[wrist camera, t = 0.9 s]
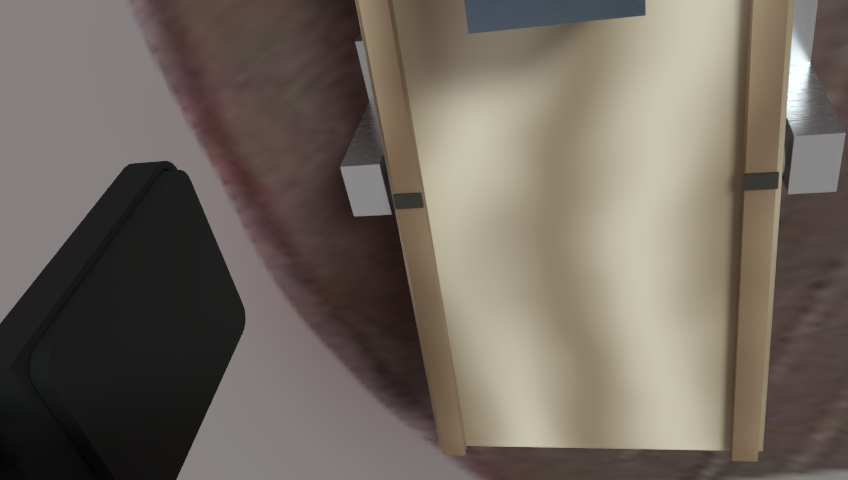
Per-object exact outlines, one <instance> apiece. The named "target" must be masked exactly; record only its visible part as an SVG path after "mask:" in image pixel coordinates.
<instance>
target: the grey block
mask: <svg viewBox="0 0 848 480" xmlns="http://www.w3.org/2000/svg"><path fill="white" fill-rule="evenodd" d="M464 3H465V11H466V19H467V27H468V34H472V33H481V32H491V31H501V30H510V29H520V28H529V27H539V26H548V25H558V24H568V23H577V22H587V21H596V20H606V19H616V18H625V17H635V16H644V15H646V6H645V0H464Z"/></svg>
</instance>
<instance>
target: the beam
mask: <svg viewBox="0 0 848 480" xmlns="http://www.w3.org/2000/svg"><path fill="white" fill-rule="evenodd" d="M355 3H356V9H357V14H358V19H359V25H360V30H361V35H362V40H363V46H364V51H365V56H366V61H367V67H368V72H369V77H370V82H371V88H372V93H373V98H374V104H375V109H376V114H377V119H378V125H379V130H380V135H381V140H382V146H383V151H384V156H385V161H386V167H387V172H388V177H389V183H390V189H391V193H392V198H393V204H394V209H395V214H396V219H397V225H398V230H399V235H400V240H401V246H402V251H403V256H404V262H405V267H406V272H407V277H408V283H409V288H410V293H411V298H412V304H413V309H414V314H415V319H416V325H417V330H418V335H419V341H420V346H421V351H422V356H423V362H424V367H425V372H426V377H427V383H428V388H429V393H430V398H431V404H432V409H433V414H434V420H435V425H436V430H437V435H438V441H439V445H442V449H443V454H444V455H465V454H466V448H467V446H507V447H562V448H616V449H670V450H725V451H730V453H731V458H732V461H758V451H763V440H764V425H765V411H766V397H767V383H768V369H769V354H770V340H771V326H772V312H773V298H774V283H775V269H776V255H777V241H778V226H779V212H780V198H781V184H782V174H783V172H784V168H785V149H784V141H785V127H786V113H787V99H788V84H789V70H790V56H791V42H792V27H793V13H794V0H645V6H646V15H644V16H635V17H625V18H616V19H606V20H596V21H587V22H577V23H568V24H558V25H548V26H539V27H529V28H520V29H510V30H501V31H491V32H481V33H472V34H468V27H467V19H466V11H465V3H464V0H355Z"/></svg>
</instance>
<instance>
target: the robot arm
mask: <svg viewBox="0 0 848 480" xmlns="http://www.w3.org/2000/svg"><path fill="white" fill-rule="evenodd" d="M244 326H245V310H244V307H243V304H242V301H241V299H240V296H239V294H238V292H237V289H236V287H235V285H234V282H233V280H232V277H231V275H230V273H229V270H228V268H227V266H226V263H225V261H224V259H223V256H222V254H221V251H220V249H219V247H218V244H217V242H216V239H215V237H214V235H213V232H212V230H211V228H210V225H209V223H208V220H207V218H206V216H205V213H204V211H203V209H202V206H201V204H200V202H199V199H198V197H197V194H196V192H195V190H194V187H193V185H192V182H191V180H190V178H189V176H188V175H187V174H186V173H185V172H184V171H182V170H177V168H176V167H175V166H174V165H173V164H172V163H170V162H168V161H160V162H147V163H134V164H129V165H128V166H126V167H125V168H124V169H123V170H122V172H121V173H120V174H119V175H118V177H117V178H116V179H115V180H114V182H113V183H112V184H111V185H110V187H109V188H108V189H107V190H106V192H105V193H104V194H103V195H102V197H101V198H100V199H99V201H98V202H97V203H96V204H95V206H94V207H93V208H92V209H91V211H90V212H89V213H88V214H87V216H86V217H85V218H84V219H83V221H82V222H81V223H80V224H79V226H78V227H77V228H76V229H75V231H74V232H73V233H72V234H71V236H70V237H69V238H68V240H67V241H66V242H65V243H64V244H63V246H62V247H61V248H60V249H59V251H58V252H57V254H56V255H55V256H54V257H53V258H52V260H51V261H50V262H49V263H48V265H47V266H46V267H45V268H44V270H43V271H42V272H41V273H40V275H39V276H38V277H37V278H36V280H35V281H34V282H33V283H32V285H31V286H30V287H29V289H28V290H27V291H26V292H25V293H24V295H23V296H22V297H21V298H20V300H19V301H18V302H17V304H16V305H15V306H14V307H13V309H12V310H11V311H10V312H9V314H8V315H7V316H6V317H5V319H4V320H3V321H2V322H1V324H0V480H176V478H177V477H178V474H179V472H180V470H181V468H182V466H183V463H184V461H185V459H186V457H187V455H188V452H189V450H190V448H191V446H192V443H193V441H194V439H195V437H196V435H197V433H198V430H199V428H200V426H201V424H202V421H203V419H204V417H205V415H206V412H207V410H208V408H209V406H210V404H211V402H212V399H213V397H214V395H215V393H216V390H217V388H218V386H219V384H220V382H221V379H222V377H223V375H224V373H225V370H226V368H227V366H228V364H229V362H230V360H231V357H232V355H233V353H234V351H235V348H236V346H237V344H238V342H239V340H240V337H241V335H242V333H243V330H244Z"/></svg>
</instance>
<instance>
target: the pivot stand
mask: <svg viewBox="0 0 848 480" xmlns="http://www.w3.org/2000/svg"><path fill="white" fill-rule="evenodd" d="M817 4H818V0H794V13H793V27H792V42H791V56H790V70H789V84H788V99H787V113H786V127H785V141H784V149H785V168H784V172H783V174H782V179H783V182H784V185H785V188H786V191H787V194H799V193H819V192H836V190H837V184H838V178H839V171H840V165H841V159H842V153H843V146H844V140H845V134H846V132H845V130H844V128H843V126H842V125H841V123H840V121H839V119H838V117H837V115H836V113H835V111H834V109H833V107H832V105H831V103H830V101H829V99H828V97H827V95H826V93H825V91H824V89H823V87H822V85H821V83H820V81H819V79H818V77H817V75H816V73H815V71H814V69H813V67H812V65H811V63H810V61H811V53H812V45H813V37H814V29H815V20H816V12H817ZM355 44H356V48H357V52H358V56H359V60H360V64H361V69H362V73H363V77H364V81H365V85H366V89H367V93H368V98H369V103H368V105H367V107H366V110H365V112H364V114H363V116H362V119H361V121H360V123H359V125H358V128H357V130H356V132H355V134H354V137H353V139H352V141H351V143H350V146H349V148H348V150H347V152H346V155H345V157H344V159H343V161H342V163H341V166H340V169H341V172H342V176H343V179H344V183H345V186H346V190H347V194H348V197H349V201H350V204H351V208H352V211H353V215H354V217H355V216H374V215H392V212H393V209H394V204H393V198H392V193H391V189H390V183H389V177H388V172H387V167H386V161H385V156H384V151H383V146H382V140H381V135H380V130H379V125H378V119H377V114H376V109H375V104H374V98H373V93H372V88H371V82H370V77H369V72H368V67H367V61H366V56H365V51H364V46H363V40H362V35H361V32H360V34H359V35H358V37H357V39H356V41H355Z"/></svg>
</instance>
